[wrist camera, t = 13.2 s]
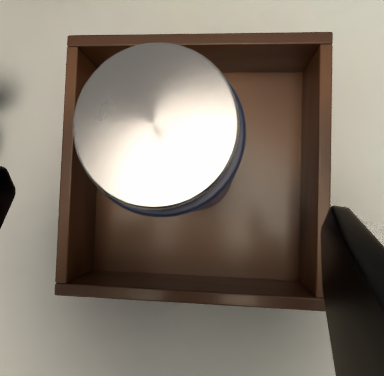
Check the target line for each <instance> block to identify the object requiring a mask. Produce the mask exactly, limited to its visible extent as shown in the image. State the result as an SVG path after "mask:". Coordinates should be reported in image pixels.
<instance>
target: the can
mask: <svg viewBox="0 0 384 376" xmlns="http://www.w3.org/2000/svg"><path fill="white" fill-rule="evenodd" d="M73 137H74V144H75V148H76V152H77V155H78V158H79V160H80V163H81V165H82V167H83V169H84V170H85V172H86V174H87V175H88V176H89V178H90V179H91V181H92V182H93V183H94V184H95V185H96V186H97V187H98V188H99V189H100V190H101V192H102V193H103V194H104V195H105V196H106V197H108V198H109V199H110V200H111V201H113V202H114V203H115V204H117V205H119V206H120V207H122V208H124V209H126V210H128V211H130V212H133V213H136V214H139V215H143V216H149V217H173V216H179V215H183V214H187V213H190V212H194V211H198V210H202V209H206V208H209V207H211V206H213V205H215V204H217V203H218V202H219V201H220V200H221V199H222V198H223V197H224V196H225V195H226V193H227V192H228V190H229V188H230V185H231V183H232V181H233V179H234V176H235V174H236V172H237V170H238V167H239V165H240V162H241V160H242V157H243V153H244V149H245V142H246V122H245V115H244V111H243V107H242V104H241V102H240V99H239V97H238V95H237V93H236V91H235V90H234V88H233V86H232V85H231V84H230V82H229V81H228V80H227V79H226V77H225V76H224V75H223V74H222V72H221V71H220V70H219V69H218V68H217V67H216V66H215V65H214V64H213V63H212V62H211V61H210V60H208V59H207V58H206V57H204V56H203V55H201V54H199V53H198V52H196V51H194V50H192V49H189V48H186V47H184V46H181V45H176V44H172V43H162V42H156V43H145V44H139V45H136V46H133V47H129V48H127V49H125V50H122V51H120V52H118V53H117V54H115V55H113V56H112V57H110V58H109V59H107V60H106V61H105V62H104V63H102V64H101V65H100V66H99V67H98V68H97V69H96V70H95V71H94V72H93V74H92V75H91V76H90V78H89V79H88V80H87V82H86V84H85V85H84V87H83V89H82V91H81V93H80V96H79V98H78V101H77V104H76V107H75V112H74V118H73Z"/></svg>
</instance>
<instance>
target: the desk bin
mask: <svg viewBox="0 0 384 376" xmlns="http://www.w3.org/2000/svg"><path fill="white" fill-rule="evenodd" d="M332 38H333V33H332V32H301V33H225V34H150V35H74V36H68V42H67V46H68V47H67V62H66V82H65V101H64V121H63V141H62V161H61V180H60V200H59V220H58V240H57V259H56V279H55V282H56V284H55V295H61V296H78V297H95V298H111V299H128V300H145V301H162V302H178V303H195V304H212V305H228V306H245V307H262V308H279V309H295V310H312V311H326V309H325V303H324V296H323V289H322V269H321V237H320V234H321V227H322V225H323V222H324V220H325V218H326V215H327V213H328V211H329V209H330V183H331V111H332ZM156 42H162V43H172V44H176V45H181V46H184V47H186V48H189V49H192V50H194V51H196V52H198V53H199V54H201V55H203V56H204V57H206V58H207V59H208V60H210V61H211V62H212V63H213V64H214V65H215V66H216V67H217V68H218V69H219V70H220V71H221V72H222V74H223V75H224V76H225V77H226V79H227V80H228V81H229V82H230V84H231V85H232V86H233V88H234V90H235V91H236V93H237V95H238V97H239V99H240V102H241V104H242V107H243V111H244V115H245V122H246V142H245V149H244V153H243V157H242V160H241V162H240V165H239V167H238V170H237V172H236V174H235V176H234V179H233V181H232V183H231V185H230V188H229V190H228V192H227V193H226V195H225V196H224V197H223V198H222V199H221V200H220V201H219V202H218V203H217V204H215V205H213V206H211V207H209V208H206V209H202V210H198V211H194V212H190V213H187V214H183V215H179V216H173V217H149V216H143V215H139V214H136V213H133V212H130V211H128V210H126V209H124V208H122V207H120V206H119V205H117V204H115V203H114V202H113V201H111V200H110V199H109V198H108V197H106V196H105V195H104V194H103V193H102V192H101V190H100V189H99V188H98V187H97V186H96V185H95V184H94V183H93V182H92V181H91V179H90V178H89V176H88V175H87V174H86V172H85V170H84V169H83V167H82V165H81V163H80V160H79V158H78V155H77V152H76V148H75V144H74V137H73V118H74V112H75V107H76V104H77V101H78V98H79V96H80V93H81V91H82V89H83V87H84V85H85V84H86V82H87V80H88V79H89V78H90V76H91V75H92V74H93V72H94V71H95V70H96V69H97V68H98V67H99V66H100V65H101V64H102V63H104V62H105V61H106V60H107V59H109V58H110V57H112V56H113V55H115V54H117V53H118V52H120V51H122V50H125V49H127V48H129V47H133V46H136V45H139V44H145V43H156Z"/></svg>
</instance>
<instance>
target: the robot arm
mask: <svg viewBox="0 0 384 376" xmlns="http://www.w3.org/2000/svg"><path fill="white" fill-rule="evenodd" d="M14 196H15V186H14V184H13V182H12V180H11V178H10V175H9V173H8V171H7V169H6V168H4V167H2V166H0V228H1V226H2V224H3V222H4V219H5V217H6V215H7V212H8V210H9V208H10V206H11V203H12V201H13V199H14ZM320 237H321V269H322V289H323V296H324V303H325V309H326V315H327V322H328V328H329V334H330V341H331V347H332V353H333V360H334V366H335V373H336V376H384V246H383V245H382V244H381V243H380V242H379V241H378V240H377V239H376V237H375V236H374V235H373V234H372V233H371V232H370V231H369V230H368V229H367V228H366V226H365V225H364V224H363V223H362V222H361V221H360V220H359V219H358V218H357V217H356V216H355V214H354V213H353V212H352V211H351V210H350V209H349V208H347V207H340V206H332V207H330V209H329V211H328V213H327V215H326V218H325V220H324V222H323V225H322V227H321V234H320Z"/></svg>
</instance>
